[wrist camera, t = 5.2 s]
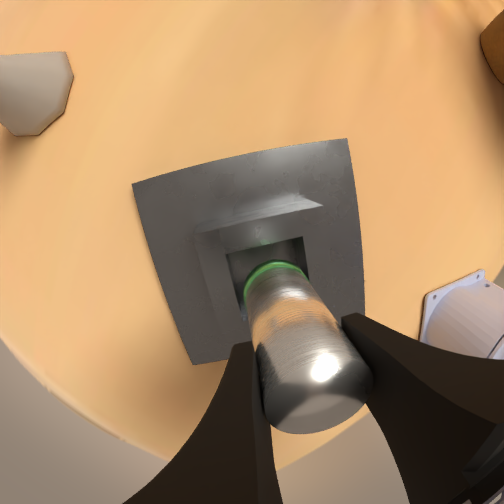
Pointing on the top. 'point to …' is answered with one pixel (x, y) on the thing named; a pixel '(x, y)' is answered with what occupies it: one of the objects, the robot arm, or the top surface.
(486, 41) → the plant pot
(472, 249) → the top surface
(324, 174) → the charcoal stand
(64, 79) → the flask
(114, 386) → the top surface
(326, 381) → the steel column
